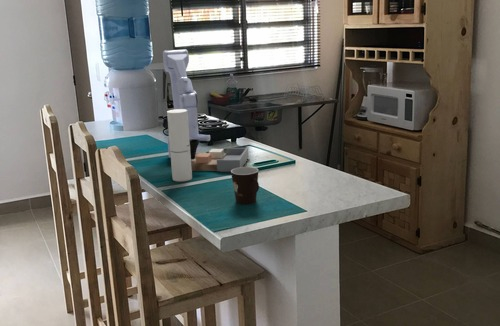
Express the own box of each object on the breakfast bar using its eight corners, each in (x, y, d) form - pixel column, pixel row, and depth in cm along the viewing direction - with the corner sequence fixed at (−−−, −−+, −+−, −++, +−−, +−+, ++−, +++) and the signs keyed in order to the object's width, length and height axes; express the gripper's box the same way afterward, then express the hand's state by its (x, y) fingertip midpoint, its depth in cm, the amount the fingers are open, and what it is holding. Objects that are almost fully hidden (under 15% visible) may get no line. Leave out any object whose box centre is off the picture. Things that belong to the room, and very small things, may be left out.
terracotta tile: (195, 162, 206) (195, 156, 206) (199, 159, 211) (198, 153, 210) (208, 163, 205) (208, 156, 205) (211, 159, 210) (211, 153, 209)
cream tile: (209, 158, 212) (208, 152, 212) (211, 154, 217) (211, 148, 216) (221, 158, 211) (220, 152, 211) (224, 154, 216) (223, 148, 215)
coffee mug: (231, 197, 174) (230, 167, 171) (258, 195, 174) (257, 166, 172) (233, 209, 162) (232, 178, 160) (262, 207, 163) (260, 176, 160)
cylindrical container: (195, 176, 198) (191, 109, 191) (185, 182, 191) (180, 113, 185) (179, 174, 200) (174, 108, 194) (168, 180, 194) (163, 112, 187)
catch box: (217, 171, 203) (216, 160, 202) (227, 158, 220) (226, 147, 219) (240, 171, 201) (239, 160, 200) (248, 158, 219) (248, 147, 218)
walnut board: (184, 170, 206) (184, 164, 205) (196, 158, 222) (195, 152, 221) (217, 170, 203) (217, 164, 203) (227, 158, 220) (226, 153, 219)
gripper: (168, 126, 202) (171, 161, 206) (206, 126, 200) (208, 161, 204) (174, 122, 209) (177, 156, 213) (210, 122, 207) (212, 156, 210)
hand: (192, 158), depth 209 cm, fingers closed
